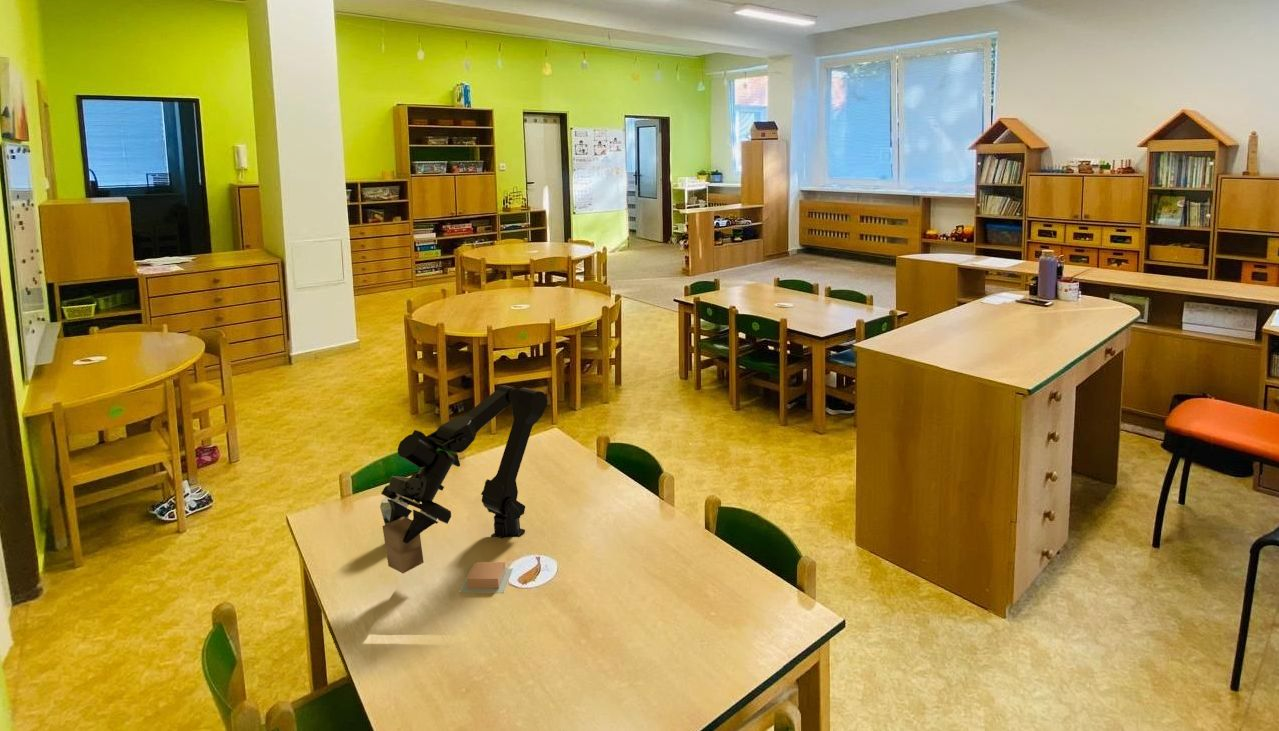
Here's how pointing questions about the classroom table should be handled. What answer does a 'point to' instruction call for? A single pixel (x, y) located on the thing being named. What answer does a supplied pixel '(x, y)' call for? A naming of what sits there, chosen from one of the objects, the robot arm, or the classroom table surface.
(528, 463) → the classroom table surface
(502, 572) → the terracotta tile
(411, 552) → the walnut pillar
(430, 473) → the robot arm
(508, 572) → the grey flat square slab
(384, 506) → the beverage can
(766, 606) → the classroom table surface
